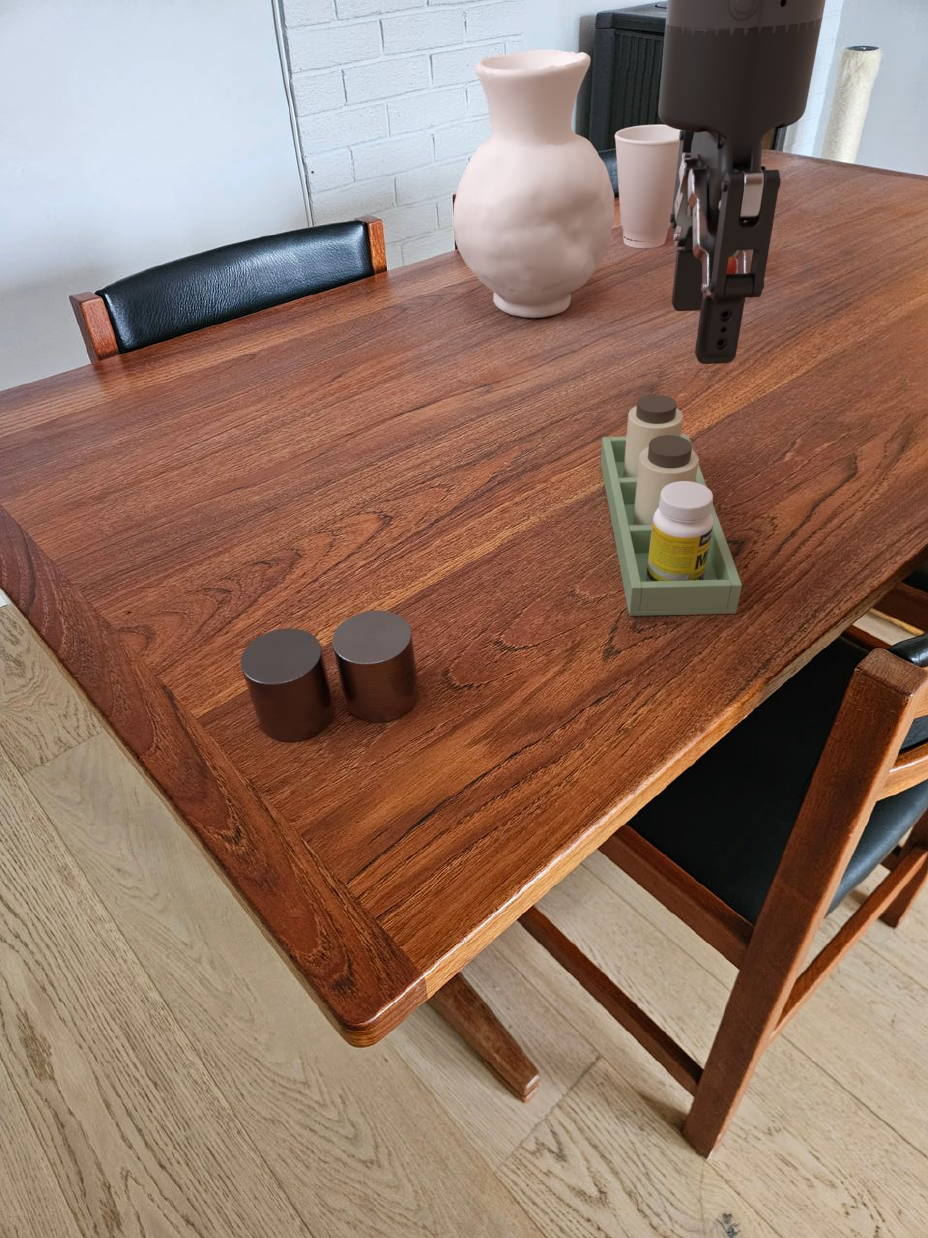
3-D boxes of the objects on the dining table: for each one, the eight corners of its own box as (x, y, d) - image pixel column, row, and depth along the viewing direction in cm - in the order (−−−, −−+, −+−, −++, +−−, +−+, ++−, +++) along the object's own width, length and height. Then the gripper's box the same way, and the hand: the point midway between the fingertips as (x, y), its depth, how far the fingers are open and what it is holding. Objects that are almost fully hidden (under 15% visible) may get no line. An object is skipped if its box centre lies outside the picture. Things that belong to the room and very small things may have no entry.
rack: (684, 460, 85) (688, 433, 83) (736, 613, 67) (742, 585, 65) (600, 462, 85) (601, 436, 83) (629, 616, 67) (632, 587, 65)
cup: (684, 252, 132) (697, 139, 122) (609, 253, 134) (615, 142, 123) (677, 229, 141) (689, 122, 131) (607, 231, 142) (613, 125, 132)
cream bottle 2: (693, 515, 76) (706, 436, 71) (681, 545, 73) (693, 464, 68) (641, 505, 78) (649, 427, 73) (626, 534, 75) (633, 454, 69)
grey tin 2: (431, 679, 63) (424, 620, 59) (397, 731, 59) (387, 672, 55) (367, 661, 65) (357, 602, 61) (330, 710, 61) (316, 651, 57)
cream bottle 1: (679, 471, 82) (690, 394, 77) (667, 497, 79) (677, 419, 73) (630, 462, 84) (637, 387, 78) (616, 487, 81) (622, 411, 75)
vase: (433, 310, 119) (413, 63, 99) (538, 271, 129) (539, 39, 109) (522, 346, 108) (521, 76, 88) (630, 300, 118) (650, 48, 98)
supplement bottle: (700, 600, 67) (715, 514, 62) (642, 591, 68) (651, 506, 63) (705, 565, 71) (720, 481, 65) (650, 557, 72) (660, 474, 66)
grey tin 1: (348, 697, 62) (336, 639, 58) (308, 751, 58) (292, 692, 54) (286, 678, 64) (270, 620, 60) (243, 729, 60) (223, 671, 56)
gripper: (870, 20, 35) (792, 380, 46) (782, -4, 46) (736, 291, 56) (692, 31, 36) (656, 385, 46) (647, 4, 46) (626, 296, 57)
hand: (700, 333), depth 51 cm, fingers open, 8 cm apart
